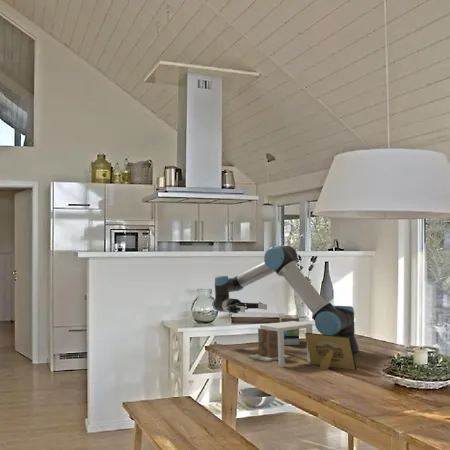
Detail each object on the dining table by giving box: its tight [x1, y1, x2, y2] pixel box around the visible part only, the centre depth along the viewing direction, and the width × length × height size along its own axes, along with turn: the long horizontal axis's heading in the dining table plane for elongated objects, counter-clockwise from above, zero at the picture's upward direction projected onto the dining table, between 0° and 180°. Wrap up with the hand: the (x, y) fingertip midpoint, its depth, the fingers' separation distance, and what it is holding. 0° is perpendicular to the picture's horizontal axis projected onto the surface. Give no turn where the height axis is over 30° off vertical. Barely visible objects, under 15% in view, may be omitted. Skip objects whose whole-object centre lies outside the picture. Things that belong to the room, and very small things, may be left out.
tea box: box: [278, 314, 300, 346], centre depth 339 cm, size 15×10×15 cm, turn 179°
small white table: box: [259, 321, 313, 368], centre depth 288 cm, size 14×20×18 cm
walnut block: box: [257, 328, 278, 358], centre depth 300 cm, size 9×6×13 cm, turn 33°
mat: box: [249, 353, 290, 362], centre depth 299 cm, size 14×14×1 cm
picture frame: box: [304, 332, 357, 371], centre depth 271 cm, size 23×9×15 cm, turn 47°
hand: (255, 308), depth 308 cm, fingers open, 13 cm apart
